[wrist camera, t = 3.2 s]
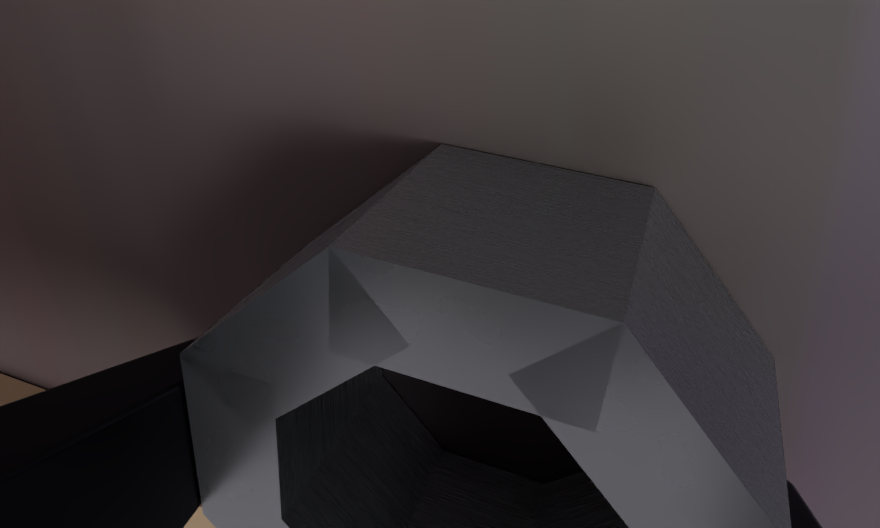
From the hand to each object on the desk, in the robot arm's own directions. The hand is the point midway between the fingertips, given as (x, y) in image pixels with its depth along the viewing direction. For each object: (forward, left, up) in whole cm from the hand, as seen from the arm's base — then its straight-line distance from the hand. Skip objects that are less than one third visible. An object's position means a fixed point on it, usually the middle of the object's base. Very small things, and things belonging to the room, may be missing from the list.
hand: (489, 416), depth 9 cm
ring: (0, 0, -1) cm, 1 cm away
